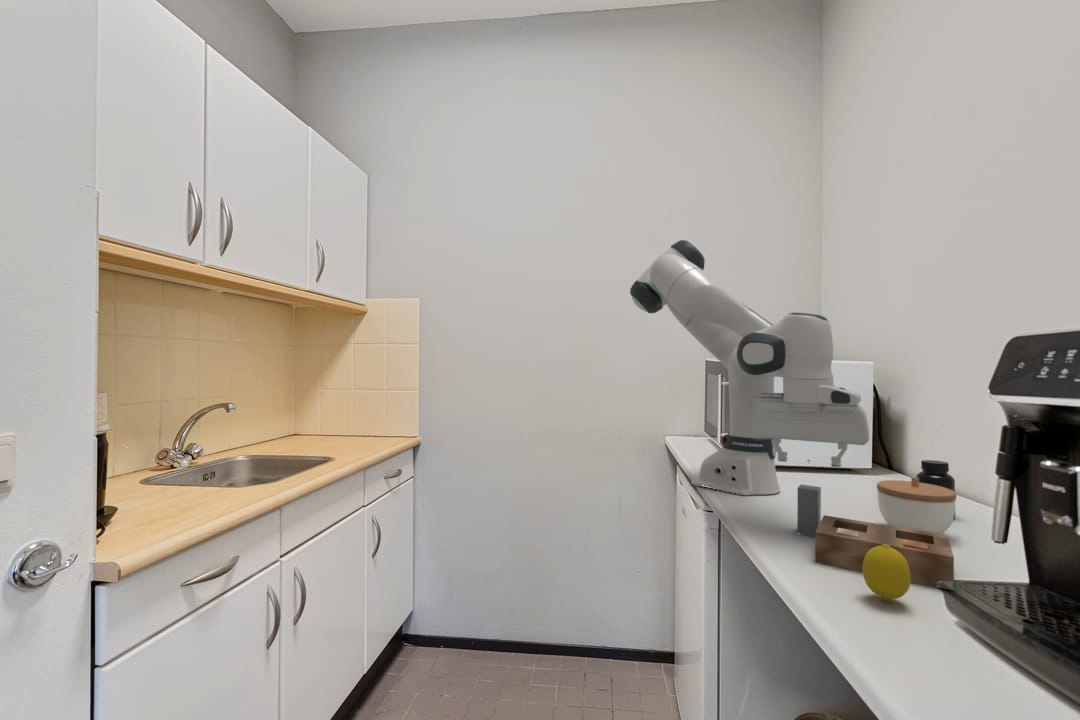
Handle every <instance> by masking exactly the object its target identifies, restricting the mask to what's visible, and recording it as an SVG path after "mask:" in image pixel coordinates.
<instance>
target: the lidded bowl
mask: <svg viewBox="0 0 1080 720" xmlns="http://www.w3.org/2000/svg"><path fill="white" fill-rule="evenodd" d="M910 478H911V480H910V481H909V480H897V479H894V480H888V479H887V480H881V481H878V482H876V489H877V502H878V507H879V511H880V514H881V517H882V518H883V520H884V521H885V522H886V523H887V524H888V526H894V527H900V528H906V529H912V530H918V531H925V532H931V533H937V534H944V533H945V532H947V531H948V529H949V528H951V526H952V523H953V521H954V514H955V515H956V500H957V492H956V491H955V492H954V491H953V490H950V489H948V488H944V487H941V486H936V485H932V484H926V483H919V478H916V477H915V476H912V477H910Z"/></svg>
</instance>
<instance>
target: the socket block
mask: <svg viewBox="0 0 1080 720" xmlns="http://www.w3.org/2000/svg"><path fill="white" fill-rule="evenodd" d="M814 540H815V541H814V552H815V553H814V562H815V561H816V562H815V563H818V562H820V563H819V564H822V563H824V564H823V565H827V564H828V566H832V565H833V567H837V568H841V569H842V568H843V569H847V570H851V571H856V572H861V573H863V561H864V558H865V555H866V553H867V552H868V551H869V550H870V549H871V548H873V547H876V546H881V545H883V544H888V545H889V546H890V547H891V548H894V549H895V550H897V551H898V552H900V553H901V554H902V555H903V557H904V558H905V559H906V561H907V563H908V566H909V570H910V583H913V584H918V585H922V586H927V587H933V588H935V589H936V588H937V582H939V581H954V582H955V580H954V579H955V566H954V565H955V556H954V553H953V550H952V549H953V548H952V546H951V542H950V540H949V535H948V534H944V533H942V534H937V533H931V532H925V531H918V530H912V529H906V528H900V527H894V526H890V525H889V524H888V525H886V524H880V523H873V522H867V521H863V520H862V521H861V520H858V519H857V520H856V519H850V518H844V517H838V516H837V517H836V516H830V515H825V514H824V515H823V516H822V517H821V522H820V524H819V526H818V528H817V530H816V532H815V538H814ZM937 589H938V588H937Z"/></svg>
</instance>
